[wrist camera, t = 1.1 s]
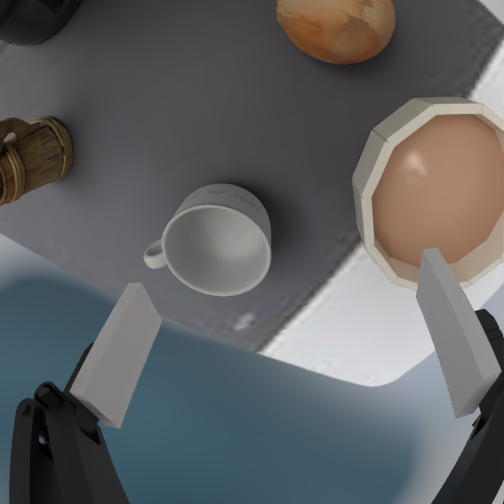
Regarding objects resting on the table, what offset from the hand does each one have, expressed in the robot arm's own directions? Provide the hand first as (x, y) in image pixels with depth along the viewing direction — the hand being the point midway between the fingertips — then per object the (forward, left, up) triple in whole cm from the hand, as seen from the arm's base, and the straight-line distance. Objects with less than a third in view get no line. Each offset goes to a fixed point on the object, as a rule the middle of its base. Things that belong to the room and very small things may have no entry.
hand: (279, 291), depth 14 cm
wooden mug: (-12, -27, -21) cm, 37 cm away
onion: (-14, +8, -21) cm, 26 cm away
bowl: (+6, +18, -21) cm, 28 cm away
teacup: (+5, -9, -21) cm, 24 cm away
